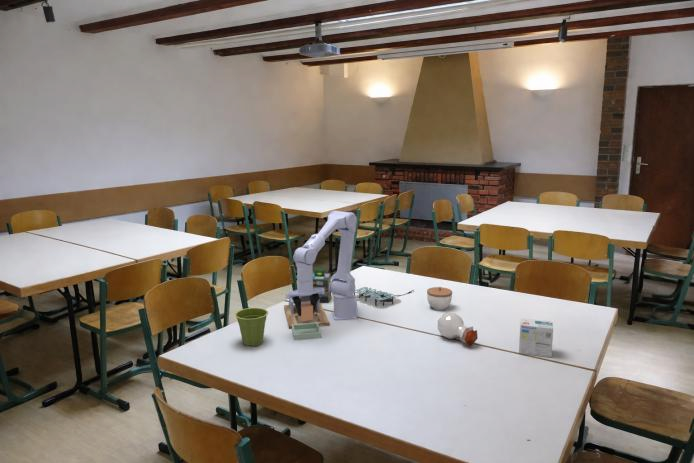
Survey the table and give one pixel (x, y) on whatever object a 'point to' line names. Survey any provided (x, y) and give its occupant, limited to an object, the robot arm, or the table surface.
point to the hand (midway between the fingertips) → (305, 314)
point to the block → (306, 312)
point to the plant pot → (252, 325)
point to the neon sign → (377, 298)
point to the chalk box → (322, 284)
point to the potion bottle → (456, 328)
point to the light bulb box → (536, 337)
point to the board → (317, 318)
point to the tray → (306, 331)
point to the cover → (303, 300)
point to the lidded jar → (439, 297)
